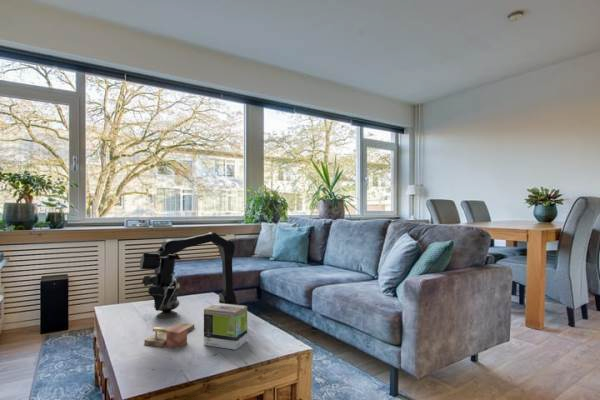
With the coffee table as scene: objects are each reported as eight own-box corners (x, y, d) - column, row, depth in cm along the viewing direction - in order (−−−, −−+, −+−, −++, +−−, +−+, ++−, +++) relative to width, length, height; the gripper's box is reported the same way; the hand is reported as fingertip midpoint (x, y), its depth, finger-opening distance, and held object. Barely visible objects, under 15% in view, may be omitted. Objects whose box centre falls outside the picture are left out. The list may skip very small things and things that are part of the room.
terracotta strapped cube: (186, 342, 137) (187, 328, 137) (179, 348, 132) (179, 332, 132) (158, 338, 141) (158, 324, 141) (149, 343, 136) (149, 328, 136)
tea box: (248, 340, 139) (248, 305, 139) (235, 351, 130) (235, 312, 130) (216, 336, 144) (216, 301, 144) (202, 345, 134) (202, 308, 134)
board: (194, 328, 152) (194, 324, 152) (163, 347, 132) (163, 342, 132) (177, 326, 155) (177, 322, 155) (144, 344, 135) (144, 339, 135)
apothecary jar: (184, 314, 171) (184, 278, 172) (163, 321, 161) (164, 283, 161) (169, 309, 178) (169, 276, 178) (148, 316, 168) (149, 280, 168)
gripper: (155, 265, 149) (150, 300, 148) (137, 270, 130) (131, 311, 129) (180, 267, 149) (175, 303, 148) (166, 273, 131) (160, 314, 130)
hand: (161, 307), depth 139 cm, fingers open, 9 cm apart
